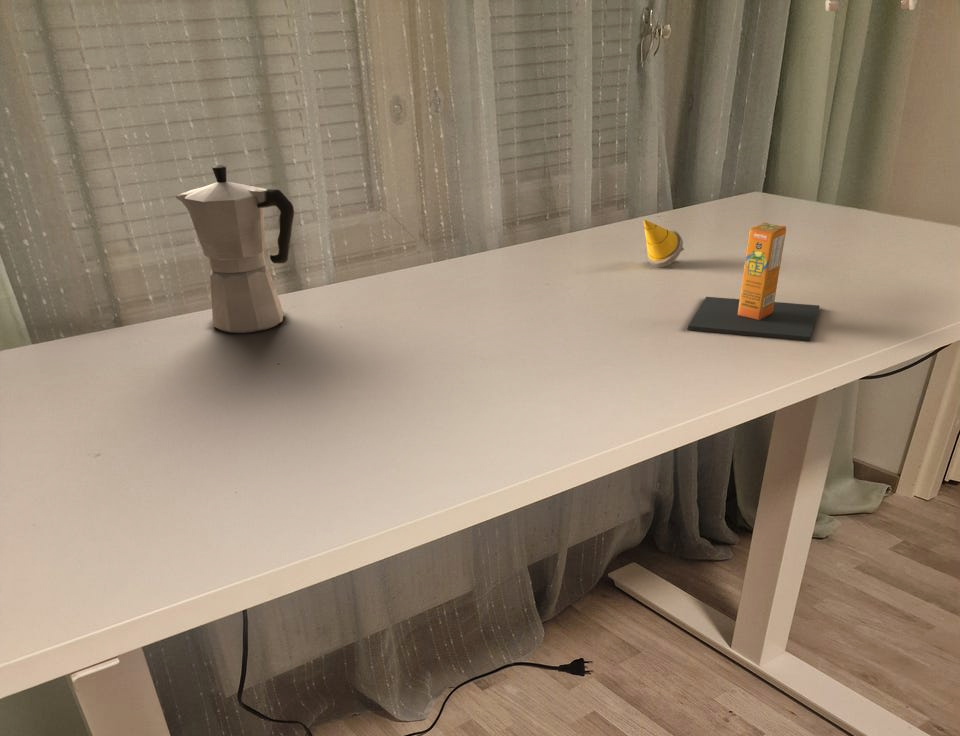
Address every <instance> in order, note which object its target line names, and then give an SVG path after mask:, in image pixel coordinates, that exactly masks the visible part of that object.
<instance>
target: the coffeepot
mask: <svg viewBox="0 0 960 736" xmlns="http://www.w3.org/2000/svg"><path fill="white" fill-rule="evenodd" d="M211 169H212V171H213V174H214V177H215V179H216V182H214V183H213V182H212V183H211V184H208V185H205V186H202V187H198V188H194V189H191V190H187V191H183V192H182V193H179V194H176V196H175V198H176V200H178V201H180V202H181V203H182V204H183V206H184V207H185V209H187V211H188V214H189V216H190V219H191V221H192V224H193V227H194V230H195V233H196V235H197V238H198V241H199V243H200V247H201V249H202V252H203V255H204V256H205V257H207V258H208V260H209V266H210V270H211V271H210V273H209V277H210V297H211V312H212V313H211V315H212V326H213V327H214V328H216V329H218V330H219V331H221V332H224V333H225V332H226V333H234V334H235V333H236V334H242V333H243V334H244V333H245V334H246V333H254V332H259V331H265V330H268V329H271V328H274V327H276V326H278V325H279V324H281V323H282V322H283V319H284V310H283V309H284V308H283V306H282V303H281V301H280V297H279V295H278V291H277V289H276V286H275V283H274V280H273V276H272V274H271V270H270V268H269V266H268V265H267V264H266V260H265V254H264V252H265V249H266V231H265V210H264V209H265V208H270V207H276V208H277V209H278V211H279V212H280V213H279V216H278V227H279V228H278V229H279V231H278V236H277V239H276V241H277V248H278V253H277V254H270V255H269V259H270V261H271V262H272V263H273V264H278V265H279V264H285V263H287V262H288V261H289V253H290V244H291V237H292V229H293V222H294V217H295V210H294V205H293V203H292V202H291V201H290V199H289V198H288V197H287V196H286V194H285V193H284V192H282V190H280V189H279V188H263V187H259V186H254V185H247V184H242V183H237V182H232V181H228V180H227V166H226V165H224V164H220V163H219V164H215V165H214V166H212V167H211Z"/></svg>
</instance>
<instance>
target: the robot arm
mask: <svg viewBox="0 0 960 736" xmlns="http://www.w3.org/2000/svg"><path fill="white" fill-rule="evenodd" d="M842 2H843V0H825V12H838V11H839V10H840V6H841V5H842ZM917 3H918V0H900V5H901V6H900V10H901V11H914V10H915V8H916V5H917Z"/></svg>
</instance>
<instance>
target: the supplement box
mask: <svg viewBox="0 0 960 736" xmlns="http://www.w3.org/2000/svg"><path fill="white" fill-rule="evenodd" d="M786 233H787V226H786V225H778V224H772V223H769V222H763V223H760V224H757V225H755V226H753V227H751V228H749V234H748V240H747V247H746V254H745V260H744V261H745V262H744V268H743V275H742V281H741V286H740V287H741V288H740V295H739V299H740V301H739V308H738V315H739V316H743V317H748V318H752V319H756V320H761V319H763V318H765V317H767V316H769V315H770V314H772V313H773V308H774V302H776V296H777V295H776V293H777V289H778V283H779V277H780V269H781V262H782V256H783V251H784V247H785V246H784V245H785V239H786Z"/></svg>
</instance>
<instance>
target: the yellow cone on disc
mask: <svg viewBox="0 0 960 736" xmlns="http://www.w3.org/2000/svg"><path fill="white" fill-rule="evenodd" d="M643 226H644V227H643V228H644V234H645V241H646V248H645V252H644V253H645V258H646V260H647V262H649V264H650V265H651V266H652V267H655V268H664V267H667V266H669V265H670V264H672V263H673V262H675V260H677V259H678V257H679V256H680V254H681V253H682V252H683V251H684V250H685V248H684V241H683V238H682V236H681V235H680V233H679V232H678V231H677V230H675V229H671V228H670V229H669V228H668V229H667V228H665V227H662V226H660V225H657V224H656V223H654V222H651V221H649V220H647V219H643Z"/></svg>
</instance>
